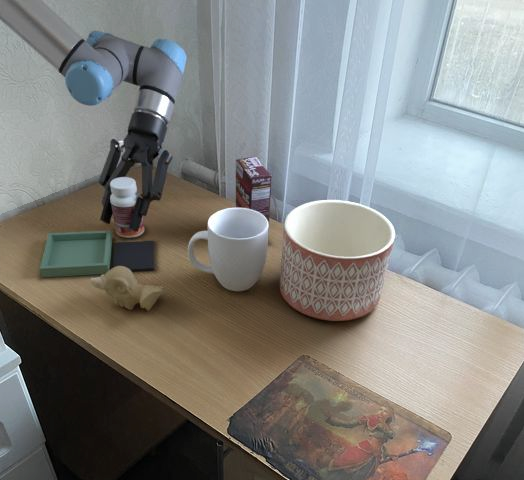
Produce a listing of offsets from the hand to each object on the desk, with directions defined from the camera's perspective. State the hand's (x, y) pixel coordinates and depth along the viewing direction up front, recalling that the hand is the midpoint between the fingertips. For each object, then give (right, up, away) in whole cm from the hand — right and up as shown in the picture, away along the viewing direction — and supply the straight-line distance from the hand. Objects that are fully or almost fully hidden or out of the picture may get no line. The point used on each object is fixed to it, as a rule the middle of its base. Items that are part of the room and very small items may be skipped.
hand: (119, 225), depth 111 cm
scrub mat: (+4, -7, -2) cm, 8 cm away
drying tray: (-7, -7, -3) cm, 11 cm away
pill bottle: (+1, 0, +5) cm, 5 cm away
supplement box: (+27, -1, +6) cm, 28 cm away
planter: (+43, -15, -8) cm, 46 cm away
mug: (+24, -13, -6) cm, 28 cm away
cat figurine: (+6, -18, -13) cm, 22 cm away
